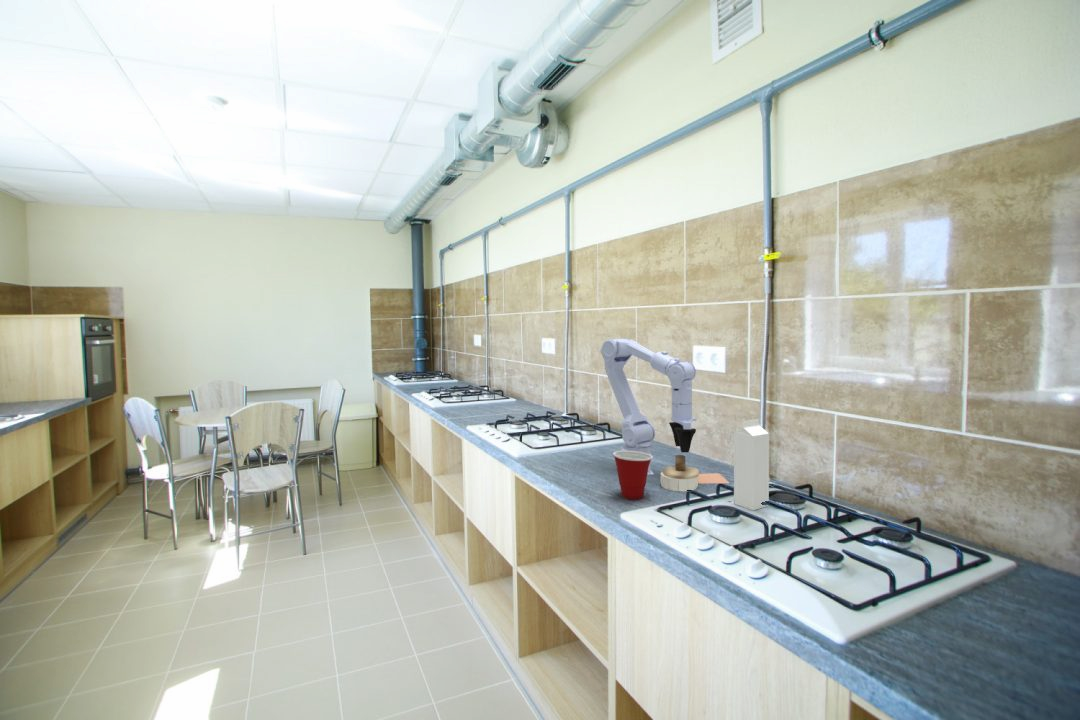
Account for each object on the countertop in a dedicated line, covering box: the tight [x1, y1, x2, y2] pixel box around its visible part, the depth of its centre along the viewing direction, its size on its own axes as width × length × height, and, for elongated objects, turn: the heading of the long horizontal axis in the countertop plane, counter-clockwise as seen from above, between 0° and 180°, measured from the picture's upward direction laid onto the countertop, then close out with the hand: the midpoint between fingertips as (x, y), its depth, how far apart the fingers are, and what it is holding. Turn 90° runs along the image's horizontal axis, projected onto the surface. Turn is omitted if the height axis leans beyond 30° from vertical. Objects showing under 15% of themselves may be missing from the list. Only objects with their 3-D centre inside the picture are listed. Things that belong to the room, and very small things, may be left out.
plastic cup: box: [612, 450, 654, 501], centre depth 140 cm, size 11×11×12 cm
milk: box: [733, 419, 770, 511], centre depth 131 cm, size 6×6×22 cm
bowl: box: [660, 471, 699, 492], centre depth 147 cm, size 10×10×4 cm
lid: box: [662, 454, 700, 479], centre depth 146 cm, size 10×10×5 cm
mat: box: [698, 472, 730, 485], centre depth 153 cm, size 10×10×1 cm
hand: (682, 449), depth 150 cm, fingers open, 7 cm apart
